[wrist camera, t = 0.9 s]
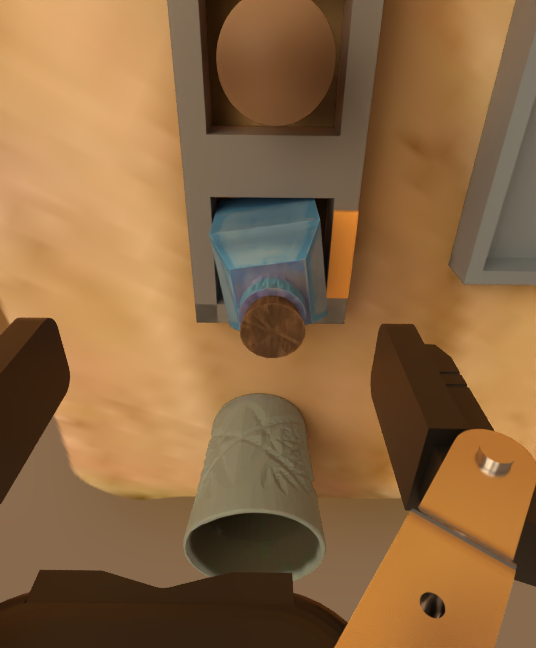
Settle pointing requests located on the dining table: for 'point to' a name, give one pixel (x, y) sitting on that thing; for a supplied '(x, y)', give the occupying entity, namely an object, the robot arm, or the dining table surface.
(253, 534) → the grey cup
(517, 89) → the tray
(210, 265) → the slot holder
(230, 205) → the perfume bottle
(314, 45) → the walnut peg
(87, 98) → the dining table surface
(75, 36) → the dining table surface
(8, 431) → the robot arm
